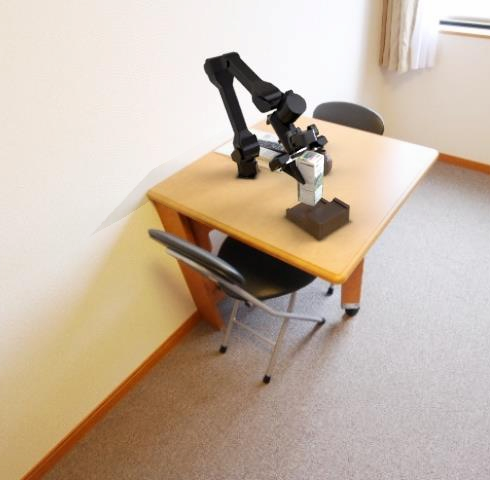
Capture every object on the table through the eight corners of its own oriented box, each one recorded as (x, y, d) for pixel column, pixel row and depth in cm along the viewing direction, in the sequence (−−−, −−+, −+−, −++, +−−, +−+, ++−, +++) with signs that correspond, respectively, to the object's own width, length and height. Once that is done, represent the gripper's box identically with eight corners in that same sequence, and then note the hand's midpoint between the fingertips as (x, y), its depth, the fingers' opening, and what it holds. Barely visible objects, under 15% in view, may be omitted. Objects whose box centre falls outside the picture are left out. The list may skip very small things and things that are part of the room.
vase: (330, 178, 125) (331, 156, 119) (311, 176, 126) (311, 154, 120) (333, 168, 130) (334, 146, 124) (315, 167, 131) (315, 145, 125)
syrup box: (306, 191, 109) (305, 149, 99) (323, 196, 107) (324, 154, 97) (297, 201, 105) (295, 158, 96) (314, 207, 103) (314, 163, 93)
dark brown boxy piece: (286, 217, 109) (284, 201, 105) (315, 200, 115) (315, 185, 111) (319, 240, 101) (319, 224, 97) (348, 221, 107) (349, 205, 103)
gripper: (271, 128, 87) (302, 183, 89) (324, 107, 97) (351, 157, 98) (255, 146, 97) (284, 196, 98) (305, 125, 106) (330, 171, 108)
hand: (313, 179), depth 100 cm, fingers closed on syrup box, 7 cm apart
